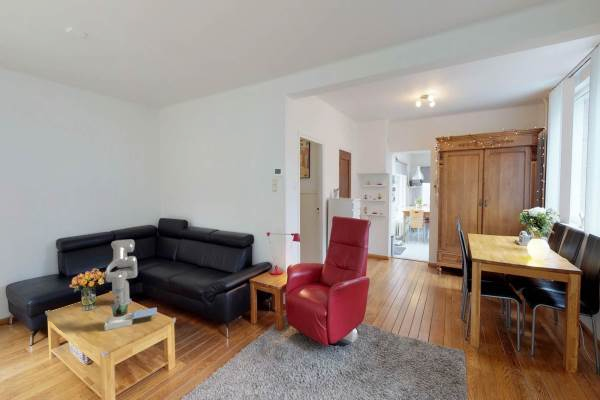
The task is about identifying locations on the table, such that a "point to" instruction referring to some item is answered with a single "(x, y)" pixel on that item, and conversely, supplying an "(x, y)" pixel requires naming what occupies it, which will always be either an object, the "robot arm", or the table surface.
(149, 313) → the lid
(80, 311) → the table surface
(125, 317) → the white rectangular tray
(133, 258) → the robot arm
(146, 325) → the table surface
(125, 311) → the food container
